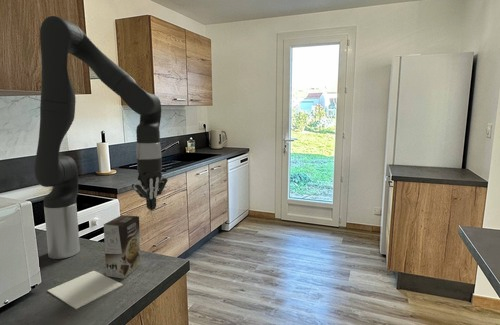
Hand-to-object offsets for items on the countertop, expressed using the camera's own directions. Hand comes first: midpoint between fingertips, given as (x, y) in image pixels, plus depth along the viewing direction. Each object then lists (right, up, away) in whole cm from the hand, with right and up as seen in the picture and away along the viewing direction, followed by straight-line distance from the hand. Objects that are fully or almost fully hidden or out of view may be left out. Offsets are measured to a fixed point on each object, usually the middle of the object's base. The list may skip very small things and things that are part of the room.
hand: (151, 209), depth 101 cm
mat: (-13, -19, -17) cm, 28 cm away
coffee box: (-6, -18, -7) cm, 20 cm away
